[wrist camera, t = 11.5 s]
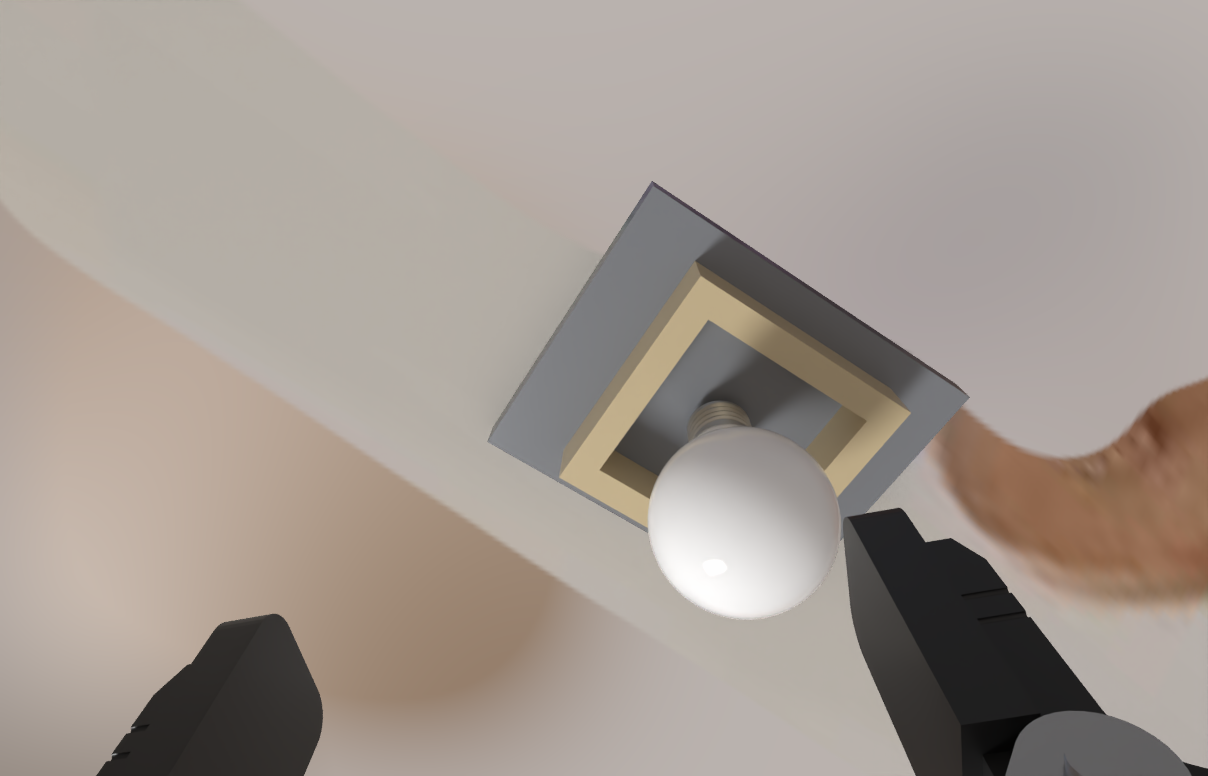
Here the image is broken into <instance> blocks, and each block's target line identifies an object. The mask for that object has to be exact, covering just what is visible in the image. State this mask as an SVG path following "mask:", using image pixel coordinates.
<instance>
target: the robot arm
mask: <svg viewBox="0 0 1208 776" xmlns="http://www.w3.org/2000/svg"><path fill="white" fill-rule="evenodd" d="M843 536H844V546H845V556H846V566H847V576H848V586H849V596H850V606H851V613H852V619H853V624H854V628H855V632H856V636H857V639H858V643H859V646H860V649H861V651H862V654H863V656H864V659H865V661H866V663H867V666H868V668H869V670H870V672H871V675H872V677H873V679H874V682H875V684H876V686H877V688H878V691H879V693H880V695H881V698H882V700H883V702H884V704H885V707H886V709H887V711H888V713H889V716H890V718H891V720H892V723H893V725H894V727H895V729H896V732H897V734H898V736H899V738H900V741H901V743H902V745H903V748H904V750H905V752H906V754H907V757H908V759H909V761H910V763H911V766H912V768H913V770H914V773H915V775H916V776H1208V769H1207V768H1203V767H1199V766H1195V765H1191V764H1188V763H1185V762H1182V761H1181V759H1180V758H1179V757H1178V756H1177V755H1176V754H1175V753H1174V752H1173V751H1172V750H1171V749H1170V748H1169V747H1168V746H1167V745H1165V744H1164V743H1163V742H1161V741H1160V740H1159V739H1157V738H1156V737H1155V736H1153V735H1151V734H1150V733H1148V732H1146V731H1145V730H1143V729H1141V728H1139V727H1137V726H1135V725H1133V724H1131V723H1129V722H1126V721H1123V720H1121V719H1118V718H1115V717H1112V716H1108V715H1106V714H1105V713H1104V711H1103V710H1102V709H1101V708H1100V706H1099V705H1098V704H1097V703H1096V701H1095V700H1094V699H1093V697H1092V696H1091V695H1090V693H1089V692H1088V691H1087V690H1086V688H1085V687H1084V686H1083V684H1082V683H1081V682H1080V681H1079V679H1078V678H1077V677H1076V675H1075V674H1074V673H1073V671H1072V670H1071V669H1070V668H1069V666H1068V665H1067V664H1066V662H1065V661H1064V660H1063V659H1062V657H1061V656H1060V655H1059V653H1058V652H1057V651H1056V649H1055V648H1054V647H1053V646H1052V644H1051V643H1050V642H1049V640H1048V639H1047V638H1046V637H1045V635H1044V634H1043V633H1042V631H1041V630H1040V629H1039V628H1038V626H1037V625H1036V624H1035V622H1034V621H1033V620H1032V618H1031V617H1027V615H1026V611H1025V609H1024V608H1023V607H1022V606H1021V604H1020V603H1019V602H1018V600H1017V599H1016V598H1015V596H1014V595H1013V594H1012V593H1009V592H1008V589H1007V586H1006V585H1005V584H1004V582H1003V581H1002V580H1001V578H1000V577H999V576H998V574H997V573H996V572H995V571H994V569H993V568H992V567H991V565H990V564H989V563H988V562H987V560H986V559H985V558H983V557H981V556H980V555H978V554H976V553H975V552H973V551H971V550H970V549H968V548H966V547H965V546H963V545H961V544H960V543H958V542H957V541H955V540H953V539H952V538H949V539H943V540H937V541H931V542H925V541H924V540H923V538H922V537H921V535H920V534H919V532H918V531H917V529H916V528H915V526H914V525H913V523H912V522H911V520H910V519H909V517H908V516H907V514H906V513H905V512H904V511H903V510H902V509H901V508H895V509H890V510H884V511H878V512H872V513H866V514H860V515H855V516H849V517H845V518H844V520H843ZM322 720H323V710H322V702H321V698H320V694H319V692H318V689H317V687H316V685H315V683H314V680H313V678H312V676H311V674H310V672H309V669H308V667H307V665H306V663H305V661H304V659H303V656H302V654H301V652H300V650H299V647H298V645H297V643H296V641H295V639H294V636H293V634H292V632H291V630H290V628H289V626H288V624H287V622H286V621H285V619H284V618H283V617H281V616H280V615H278V614H270V615H264V616H258V617H252V618H246V619H240V620H235V621H229V622H224V623H222V624H220V625H219V626H218V627H217V628H216V629H215V630H214V631H213V633H212V634H211V636H210V637H209V639H208V640H207V642H206V643H205V645H204V646H203V648H202V649H201V651H200V652H199V653H198V655H197V656H196V658H195V659H194V661H193V662H192V664H189V665H187V666H186V667H184V668H183V669H182V670H181V671H180V672H179V673H178V674H177V675H176V676H174V677H173V678H172V679H171V680H170V681H169V682H168V683H167V684H166V685H164V686H163V687H162V688H161V689H160V690H159V691H158V692H157V693H155V695H153V697H152V698H151V700H150V701H149V702H148V704H147V705H146V707H145V708H144V710H143V711H142V712H141V714H140V715H139V717H138V718H137V719H136V721H135V722H134V724H133V725H132V726H131V733H128V734H126V735H125V736H124V738H123V739H122V740H121V742H120V743H119V745H118V746H117V747H116V749H115V750H114V752H113V753H112V760H111V761H107V762H106V763H105V764H104V766H103V767H102V769H101V770H100V771H99V773H98V774H97V775H96V776H304V774H305V772H306V769H307V767H308V765H309V762H310V760H311V758H312V755H313V753H314V750H315V748H316V746H317V743H318V741H319V738H320V734H321V729H322Z"/></svg>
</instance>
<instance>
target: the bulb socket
mask: <svg viewBox="0 0 1208 776" xmlns="http://www.w3.org/2000/svg"><path fill="white" fill-rule="evenodd" d="M969 398H970V397H969V396H968V395H967V394H966V393H965V392H964V391H963V390H962V389H961V388H959V387H958V386H957V385H956V384H955V383H953V382H952V381H950V380H949V379H948V378H946V377H944V376H943V375H941V374H940V373H939V372H937V371H936V370H934V369H933V368H931V367H929V366H928V365H926V364H925V363H924V362H922V361H921V360H919V359H918V358H916V357H915V356H913V355H912V354H910V353H909V352H907V351H906V350H904V349H903V348H901V347H900V346H898V345H897V344H895V343H894V342H892V341H891V340H889V339H888V338H886V337H885V336H883V335H882V334H880V333H879V332H877V331H876V330H874V329H873V328H871V327H869V326H868V325H867V324H865V323H864V322H862V321H861V320H859V319H857V318H856V317H855V316H853V315H852V314H850V313H849V312H847V311H846V310H844V309H843V308H841V307H840V306H838V305H837V304H835V303H834V302H832V301H831V300H829V299H828V298H826V297H825V296H823V295H822V294H820V293H819V292H817V291H816V290H814V289H813V288H811V287H810V286H808V285H807V284H805V283H804V282H802V281H801V280H799V279H798V278H796V277H795V276H793V275H792V274H790V273H789V272H787V271H786V270H784V269H783V268H781V267H780V266H778V265H777V264H775V263H774V262H772V261H771V260H769V259H768V258H766V257H765V256H764V255H762V254H760V253H759V252H757V251H756V250H754V249H753V248H752V247H750V246H748V245H747V244H745V243H744V242H743V241H741V240H739V239H738V238H736V237H735V236H733V235H732V234H731V233H729V232H728V231H726V230H724V229H723V228H722V227H720V226H719V225H717V224H715V223H714V222H713V221H711V220H710V219H708V218H707V217H705V216H704V215H702V214H701V213H699V212H698V211H696V210H695V209H693V208H692V207H690V206H689V205H687V204H686V203H684V202H682V201H681V200H680V199H678V198H677V197H675V196H674V195H672V194H671V193H669V192H667V191H666V190H665V189H663V188H662V187H660V186H658V185H657V184H656V183H654V182H653V181H652V182H651V184H650V185H649V187H648V188H647V190H646V191H645V193H644V194H643V196H642V198H641V199H640V200H639V202H638V204H637V205H636V207H635V208H634V210H633V211H632V213H631V214H630V216H629V217H628V219H627V221H626V222H625V224H624V225H623V227H622V228H621V230H620V231H619V233H618V235H617V236H616V238H615V239H614V241H613V242H612V244H611V245H610V247H609V248H608V250H607V252H606V253H605V255H604V256H603V258H602V259H601V261H600V262H599V264H598V265H597V267H596V269H595V270H594V272H593V273H592V275H591V276H590V278H589V279H588V281H587V282H586V284H585V286H584V287H583V289H582V290H581V292H580V293H579V295H578V296H577V298H576V300H575V301H574V303H573V304H572V306H571V307H570V309H569V310H568V312H567V313H566V315H565V317H564V318H563V320H562V321H561V323H560V324H559V326H558V327H557V329H556V330H555V332H554V334H553V335H552V337H551V338H550V340H549V341H548V343H547V344H546V346H545V347H544V349H543V351H542V352H541V354H540V355H539V357H538V358H537V360H536V361H535V363H534V365H533V366H532V368H531V369H530V371H529V372H528V374H527V375H526V377H525V378H524V380H523V382H522V383H521V385H520V386H519V388H518V389H517V391H516V392H515V394H514V395H513V397H512V399H511V400H510V402H509V403H508V405H507V406H506V408H505V409H504V411H503V413H502V414H501V416H500V417H499V419H498V420H497V422H496V423H495V425H494V426H493V429H492V431H491V434H490V436H489V439H488V442H489V443H491V444H492V445H494V446H496V447H498V448H499V449H501V450H503V451H505V452H506V453H508V454H510V455H512V456H513V457H515V458H517V459H519V460H520V461H522V462H524V463H526V464H527V465H529V466H531V467H533V468H535V469H536V470H538V471H540V472H542V473H543V474H545V475H547V476H549V477H550V478H552V479H554V480H556V481H557V482H559V483H561V484H563V485H564V486H566V487H568V488H570V489H572V490H573V491H575V492H577V493H579V494H580V495H582V496H584V497H586V498H587V499H589V500H591V501H593V502H594V503H596V504H598V505H600V506H601V507H603V508H605V509H607V510H608V511H610V512H612V513H614V514H616V515H617V516H619V517H621V518H623V519H624V520H626V521H628V522H630V523H631V524H633V525H635V526H637V527H638V528H640V529H642V530H644V531H645V532H647V533H648V522H647V517H648V506H649V500H650V496H651V492H652V489H653V487H654V484H655V482H656V479H657V477H658V475H659V474H660V472H661V470H662V469H663V467H664V466H665V464H666V463H667V462H668V460H669V459H670V458H671V457H672V456H673V455H674V454H675V453H676V452H677V451H678V450H679V449H680V448H681V447H682V446H684V445H685V444H686V443H688V436H687V425H688V422H689V419H690V417H691V416H692V414H693V413H694V412H695V411H696V410H697V409H698V408H699V407H700V406H702V405H704V404H706V403H708V402H712V401H718V400H722V401H728V402H732V403H734V404H736V405H738V406H739V407H741V408H742V409H743V410H744V411H745V412H746V414H747V416H748V417H749V420H750V423H751V426H752V427H758V428H763V429H767V430H770V431H773V432H776V433H779V434H781V435H783V436H785V437H787V438H789V439H791V440H792V441H794V442H796V443H797V444H799V445H800V446H801V447H803V448H804V449H805V450H806V451H807V452H808V453H810V454H811V455H812V456H813V457H814V458H815V460H816V461H817V462H818V463H819V464H820V466H821V467H822V468H823V470H824V471H825V473H826V474H827V476H828V478H829V480H830V481H831V484H832V486H833V488H834V490H835V493H836V496H837V499H838V503H839V508H840V515H841V536H840V541H841V540H842V538H843V537H844V536H843V520H844V518H845V517H849V516H855V515H860V514H865V513H866V512H867V511H868V510H869V508H870V507H871V506H872V505H873V504H874V503H875V502H876V501H877V500H878V498H879V497H880V496H881V495H882V494H883V493H884V492H885V491H886V490H887V489H888V487H889V486H890V485H891V484H892V483H893V482H894V481H895V480H896V479H897V477H898V476H899V475H900V474H901V473H902V472H903V471H904V470H905V469H906V467H907V466H908V465H909V464H910V463H911V462H912V461H913V460H914V459H915V457H916V456H917V455H918V454H919V453H920V452H921V451H922V450H923V449H924V447H925V446H926V445H927V444H928V443H929V442H930V441H931V440H932V439H933V437H934V436H935V435H936V434H937V433H938V432H939V431H940V430H941V429H942V427H943V426H944V425H945V424H946V423H947V422H948V421H949V420H950V419H951V417H952V416H953V415H954V414H955V413H956V412H957V411H958V410H959V409H960V408H961V406H962V405H963V404H964V403H965V402H966V401H967V400H968V399H969Z"/></svg>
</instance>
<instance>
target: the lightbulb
mask: <svg viewBox="0 0 1208 776" xmlns="http://www.w3.org/2000/svg"><path fill="white" fill-rule="evenodd" d="M687 436H688V443H686V444H685V445H684V446H682V447H681V448H680V449H679V450H678V451H677V452H676V453H675V454H674V455H673V456H672V457H671V458H670V459H669V460H668V462H667V463H666V464H665V466H664V467H663V469H662V470H661V472H660V474H659V475H658V477H657V479H656V482H655V484H654V487H653V489H652V492H651V496H650V500H649V506H648V517H647V522H648V534H649V540H650V544H651V548H652V551H653V554H654V557H655V559H656V561H657V563H658V565H659V567H660V569H661V571H662V572H663V574H664V575H665V577H666V578H667V580H668V581H669V582H670V583H671V585H672V586H673V587H674V588H675V589H676V590H677V591H678V592H679V593H680V594H681V595H682V596H684V597H685V598H686V599H687V600H689V601H690V602H692V603H693V604H695V605H696V606H698V607H700V608H702V609H704V610H706V611H708V612H710V613H713V614H716V615H719V616H722V617H726V618H731V619H740V620H755V619H763V618H768V617H772V616H776V615H779V614H781V613H784V612H786V611H788V610H790V609H792V608H794V607H796V606H797V605H799V604H800V603H802V602H803V601H805V600H806V599H807V598H808V597H810V596H811V595H812V594H813V593H814V592H815V591H816V590H817V589H818V587H819V586H820V585H821V584H822V582H823V581H824V580H825V578H826V577H827V575H828V573H829V572H830V570H831V568H832V566H833V563H834V561H835V558H836V555H837V552H838V548H839V543H840V536H841V515H840V508H839V503H838V499H837V496H836V493H835V490H834V488H833V486H832V484H831V481H830V480H829V478H828V476H827V474H826V473H825V471H824V470H823V468H822V467H821V466H820V464H819V463H818V462H817V461H816V460H815V458H814V457H813V456H812V455H811V454H810V453H808V452H807V451H806V450H805V449H804V448H803V447H801V446H800V445H799V444H797V443H796V442H794V441H792V440H791V439H789V438H787V437H785V436H783V435H781V434H779V433H776V432H773V431H770V430H767V429H763V428H758V427H752V426H751V423H750V420H749V417H748V416H747V414H746V412H745V411H744V410H743V409H742V408H741V407H739V406H738V405H736V404H734V403H732V402H728V401H722V400H718V401H712V402H708V403H706V404H704V405H702V406H700V407H699V408H698V409H697V410H696V411H695V412H694V413H693V414H692V416H691V417H690V419H689V422H688V425H687Z"/></svg>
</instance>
